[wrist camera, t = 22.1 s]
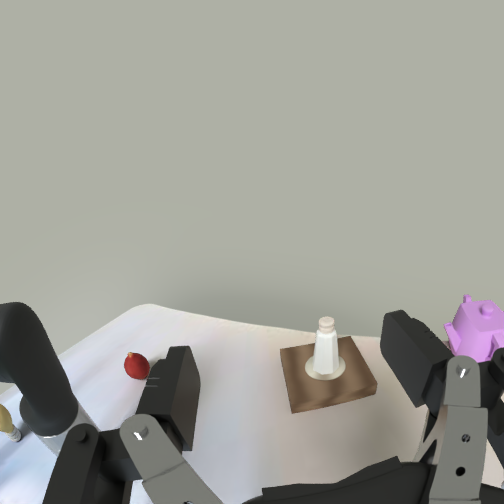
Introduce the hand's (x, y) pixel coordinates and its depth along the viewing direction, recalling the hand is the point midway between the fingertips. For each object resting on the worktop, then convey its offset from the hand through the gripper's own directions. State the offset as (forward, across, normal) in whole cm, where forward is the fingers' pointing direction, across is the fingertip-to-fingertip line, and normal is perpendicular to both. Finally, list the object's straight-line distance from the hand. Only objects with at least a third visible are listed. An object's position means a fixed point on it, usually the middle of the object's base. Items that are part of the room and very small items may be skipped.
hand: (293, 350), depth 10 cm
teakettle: (+23, +45, -34) cm, 61 cm away
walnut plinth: (+30, +10, -34) cm, 46 cm away
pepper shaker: (+30, +10, -31) cm, 44 cm away
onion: (+35, -30, -34) cm, 57 cm away
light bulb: (+9, -58, -34) cm, 68 cm away
